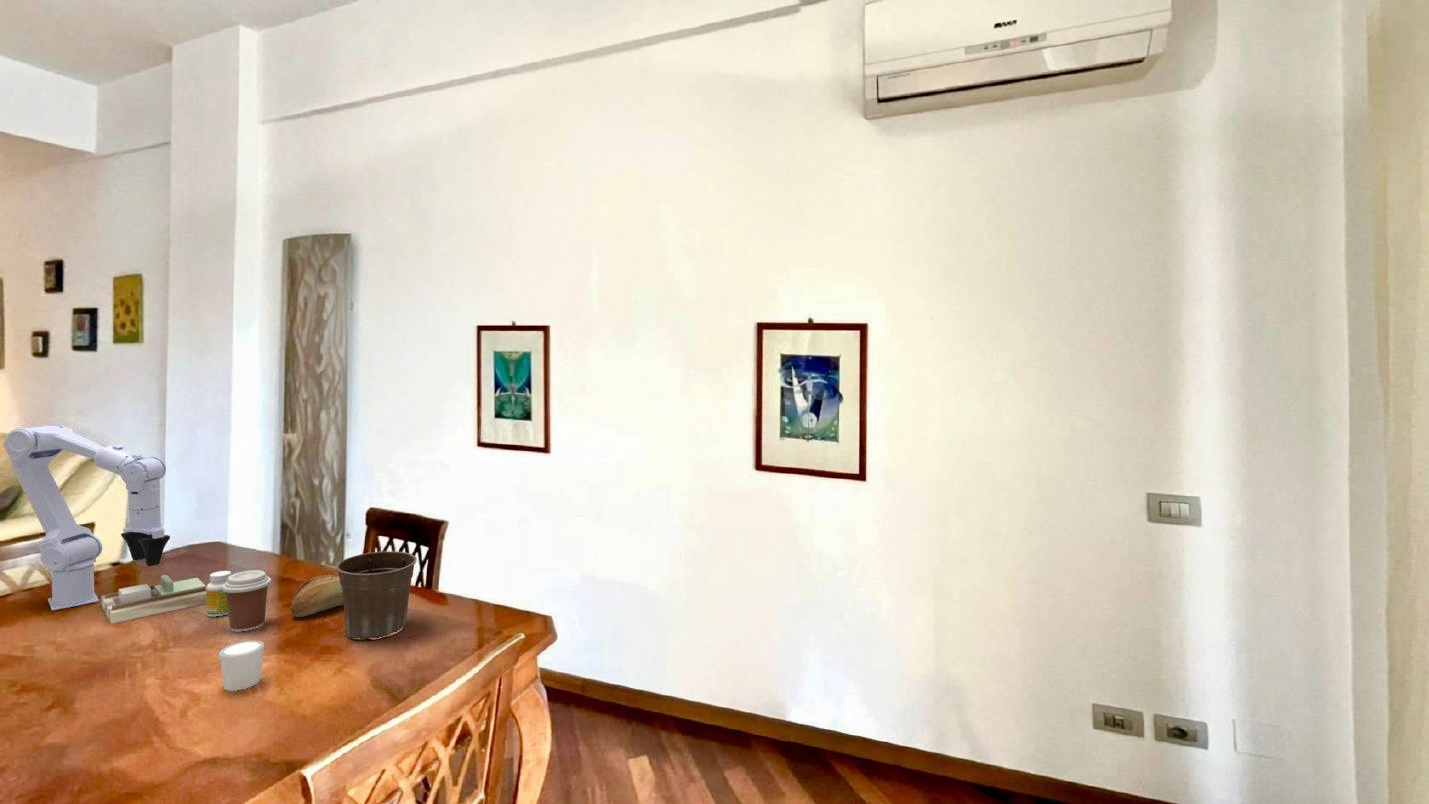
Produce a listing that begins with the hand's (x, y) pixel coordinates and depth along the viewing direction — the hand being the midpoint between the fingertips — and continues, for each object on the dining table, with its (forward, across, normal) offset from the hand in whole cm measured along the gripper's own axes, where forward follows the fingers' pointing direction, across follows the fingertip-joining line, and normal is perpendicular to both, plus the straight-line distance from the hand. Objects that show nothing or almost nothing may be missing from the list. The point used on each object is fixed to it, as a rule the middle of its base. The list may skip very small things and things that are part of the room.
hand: (146, 562), depth 153 cm
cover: (+8, +3, +5) cm, 10 cm away
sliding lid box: (+10, +2, +1) cm, 11 cm away
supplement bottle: (+11, +21, +6) cm, 24 cm away
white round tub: (+11, +61, -8) cm, 62 cm away
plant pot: (+11, +60, +20) cm, 64 cm away
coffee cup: (+11, +34, +6) cm, 36 cm away
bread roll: (+11, +38, +20) cm, 45 cm away
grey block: (+10, +2, -3) cm, 11 cm away
